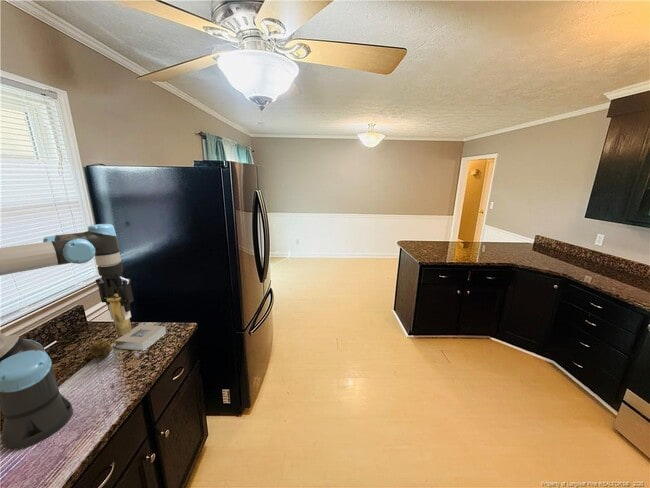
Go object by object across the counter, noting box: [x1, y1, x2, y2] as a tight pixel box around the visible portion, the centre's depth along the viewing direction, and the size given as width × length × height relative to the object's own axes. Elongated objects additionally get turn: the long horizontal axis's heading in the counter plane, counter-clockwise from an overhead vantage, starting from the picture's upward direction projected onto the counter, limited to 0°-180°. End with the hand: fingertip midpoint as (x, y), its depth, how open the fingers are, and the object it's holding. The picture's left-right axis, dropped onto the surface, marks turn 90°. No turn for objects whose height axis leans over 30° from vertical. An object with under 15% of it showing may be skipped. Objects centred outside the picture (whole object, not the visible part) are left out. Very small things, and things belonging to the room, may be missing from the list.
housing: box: [114, 324, 167, 352], centre depth 126 cm, size 14×14×4 cm
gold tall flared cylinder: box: [106, 292, 133, 336], centre depth 107 cm, size 6×6×16 cm
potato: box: [89, 340, 113, 359], centre depth 115 cm, size 8×13×8 cm, turn 28°
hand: (121, 318), depth 107 cm, fingers closed on gold tall flared cylinder, 5 cm apart
